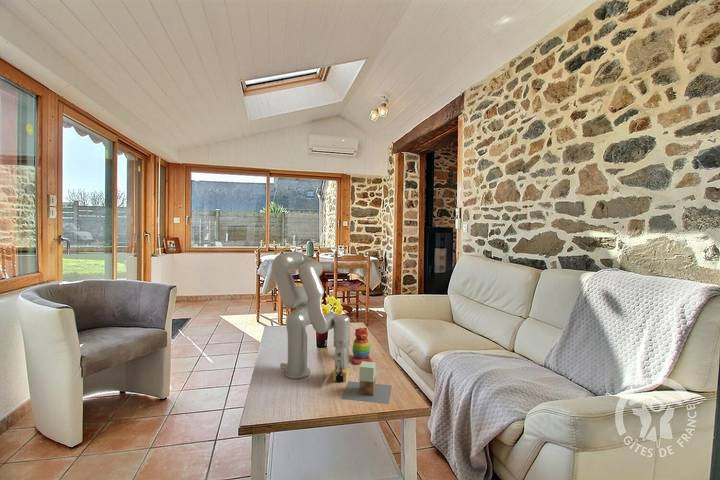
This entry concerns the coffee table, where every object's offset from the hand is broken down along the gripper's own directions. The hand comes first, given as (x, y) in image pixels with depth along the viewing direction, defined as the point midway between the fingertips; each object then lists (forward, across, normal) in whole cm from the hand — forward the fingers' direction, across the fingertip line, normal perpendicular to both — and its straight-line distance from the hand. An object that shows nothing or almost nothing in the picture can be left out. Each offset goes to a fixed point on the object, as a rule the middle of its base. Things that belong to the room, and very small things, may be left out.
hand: (341, 379), depth 157 cm
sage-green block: (-7, -10, -14) cm, 18 cm away
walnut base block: (-1, -10, -14) cm, 17 cm away
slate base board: (+1, -10, -14) cm, 17 cm away
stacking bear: (+1, +26, -5) cm, 26 cm away
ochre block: (+1, 0, 0) cm, 1 cm away
